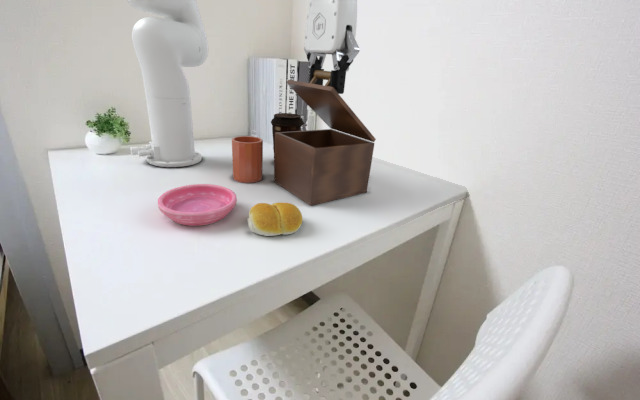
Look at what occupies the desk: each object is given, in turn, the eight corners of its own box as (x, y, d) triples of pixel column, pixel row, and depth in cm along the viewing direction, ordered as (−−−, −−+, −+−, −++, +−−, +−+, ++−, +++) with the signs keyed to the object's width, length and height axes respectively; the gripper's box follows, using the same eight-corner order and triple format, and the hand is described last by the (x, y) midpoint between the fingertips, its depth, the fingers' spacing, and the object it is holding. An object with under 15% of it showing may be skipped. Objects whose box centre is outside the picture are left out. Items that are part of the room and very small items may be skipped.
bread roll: (308, 234, 50) (310, 212, 48) (253, 241, 47) (252, 217, 45) (293, 212, 57) (294, 192, 55) (244, 216, 53) (243, 195, 52)
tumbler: (240, 184, 67) (239, 144, 63) (228, 175, 72) (227, 137, 68) (267, 180, 71) (267, 141, 67) (254, 171, 75) (254, 135, 72)
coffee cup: (304, 161, 87) (307, 114, 82) (299, 170, 80) (302, 119, 74) (273, 157, 88) (275, 111, 82) (266, 166, 80) (267, 115, 75)
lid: (330, 90, 53) (346, 65, 53) (286, 82, 63) (299, 61, 63) (374, 142, 64) (387, 121, 64) (330, 128, 75) (342, 110, 75)
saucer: (250, 217, 53) (250, 200, 52) (177, 239, 45) (175, 220, 44) (216, 194, 61) (215, 179, 60) (149, 209, 53) (146, 192, 52)
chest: (310, 205, 60) (315, 149, 55) (273, 181, 70) (274, 132, 66) (366, 192, 69) (374, 142, 64) (326, 172, 79) (331, 128, 75)
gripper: (291, -16, 58) (286, 86, 65) (352, -31, 45) (338, 96, 53) (322, -7, 62) (315, 87, 69) (386, -19, 50) (369, 97, 57)
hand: (325, 90), depth 61 cm, fingers closed on lid, 6 cm apart
